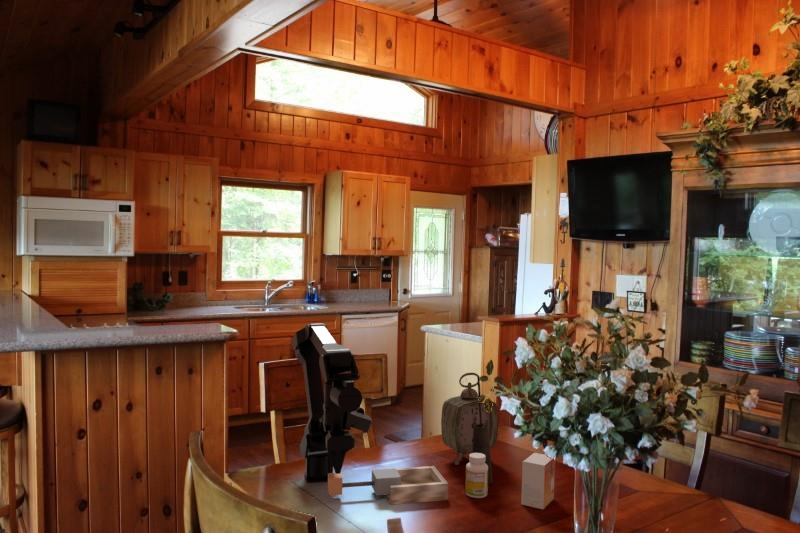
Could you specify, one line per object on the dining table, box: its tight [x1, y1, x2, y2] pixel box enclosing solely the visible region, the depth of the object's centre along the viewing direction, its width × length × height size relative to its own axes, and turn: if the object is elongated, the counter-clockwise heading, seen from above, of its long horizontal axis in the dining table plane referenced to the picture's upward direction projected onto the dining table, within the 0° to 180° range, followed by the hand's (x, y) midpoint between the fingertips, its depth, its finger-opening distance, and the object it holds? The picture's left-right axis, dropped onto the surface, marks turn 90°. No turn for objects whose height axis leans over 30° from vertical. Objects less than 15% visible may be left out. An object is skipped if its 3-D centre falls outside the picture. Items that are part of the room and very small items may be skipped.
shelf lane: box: [385, 465, 449, 505], centre depth 156 cm, size 14×12×4 cm
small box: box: [520, 452, 556, 510], centre depth 152 cm, size 8×6×10 cm
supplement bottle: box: [465, 453, 489, 499], centre depth 155 cm, size 5×5×10 cm
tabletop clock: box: [440, 372, 499, 466], centre depth 180 cm, size 14×9×25 cm, turn 118°
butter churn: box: [472, 374, 493, 486], centre depth 164 cm, size 9×10×28 cm
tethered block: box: [327, 467, 401, 496], centre depth 153 cm, size 17×6×4 cm, turn 103°
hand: (335, 466), depth 151 cm, fingers open, 9 cm apart
